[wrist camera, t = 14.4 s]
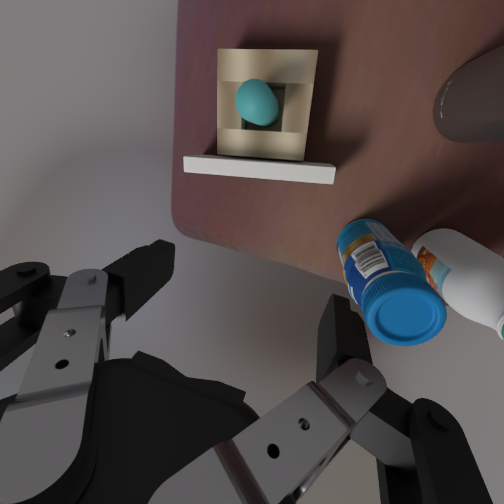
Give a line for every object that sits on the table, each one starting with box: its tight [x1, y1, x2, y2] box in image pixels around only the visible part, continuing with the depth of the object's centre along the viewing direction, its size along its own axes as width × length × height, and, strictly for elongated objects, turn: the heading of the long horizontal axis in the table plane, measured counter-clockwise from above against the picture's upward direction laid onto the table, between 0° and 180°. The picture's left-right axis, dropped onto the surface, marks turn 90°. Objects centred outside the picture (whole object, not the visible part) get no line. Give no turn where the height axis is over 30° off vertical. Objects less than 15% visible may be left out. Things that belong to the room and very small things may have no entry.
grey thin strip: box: [411, 228, 504, 340], centre depth 31 cm, size 8×8×20 cm
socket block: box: [217, 49, 318, 161], centre depth 35 cm, size 12×12×5 cm
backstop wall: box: [183, 155, 336, 184], centre depth 36 cm, size 20×2×7 cm, turn 87°
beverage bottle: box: [337, 219, 447, 346], centre depth 32 cm, size 8×8×20 cm
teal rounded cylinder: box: [235, 79, 281, 127], centre depth 32 cm, size 4×4×10 cm
